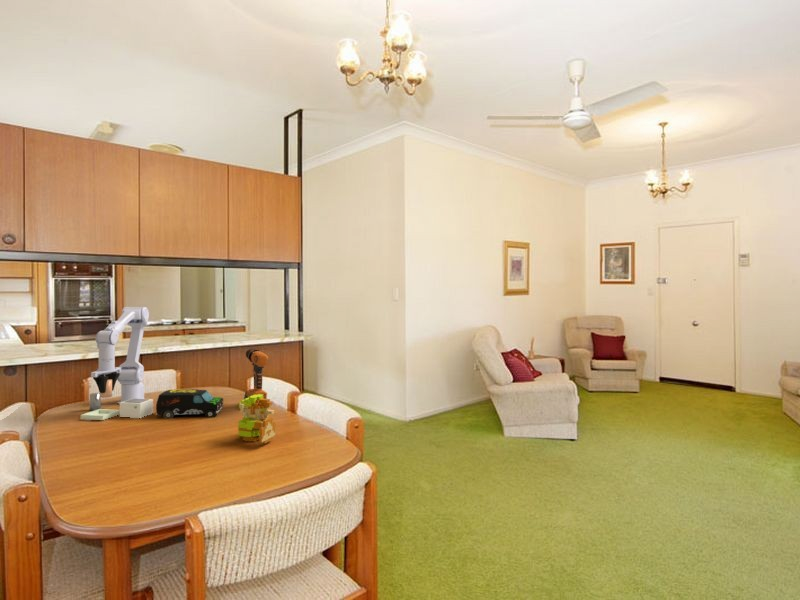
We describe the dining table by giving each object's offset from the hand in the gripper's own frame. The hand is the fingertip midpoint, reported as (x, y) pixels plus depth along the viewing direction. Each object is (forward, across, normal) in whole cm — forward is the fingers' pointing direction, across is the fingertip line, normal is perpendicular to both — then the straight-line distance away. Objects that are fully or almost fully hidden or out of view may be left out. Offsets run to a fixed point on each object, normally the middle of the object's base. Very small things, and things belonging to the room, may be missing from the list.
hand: (106, 391), depth 195 cm
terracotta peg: (+2, 0, 0) cm, 2 cm away
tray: (+9, +6, +2) cm, 11 cm away
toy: (+10, +22, +76) cm, 79 cm away
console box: (+9, +1, +14) cm, 17 cm away
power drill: (+9, -26, +53) cm, 60 cm away
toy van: (+10, -4, +35) cm, 37 cm away
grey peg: (+9, -4, -9) cm, 13 cm away
